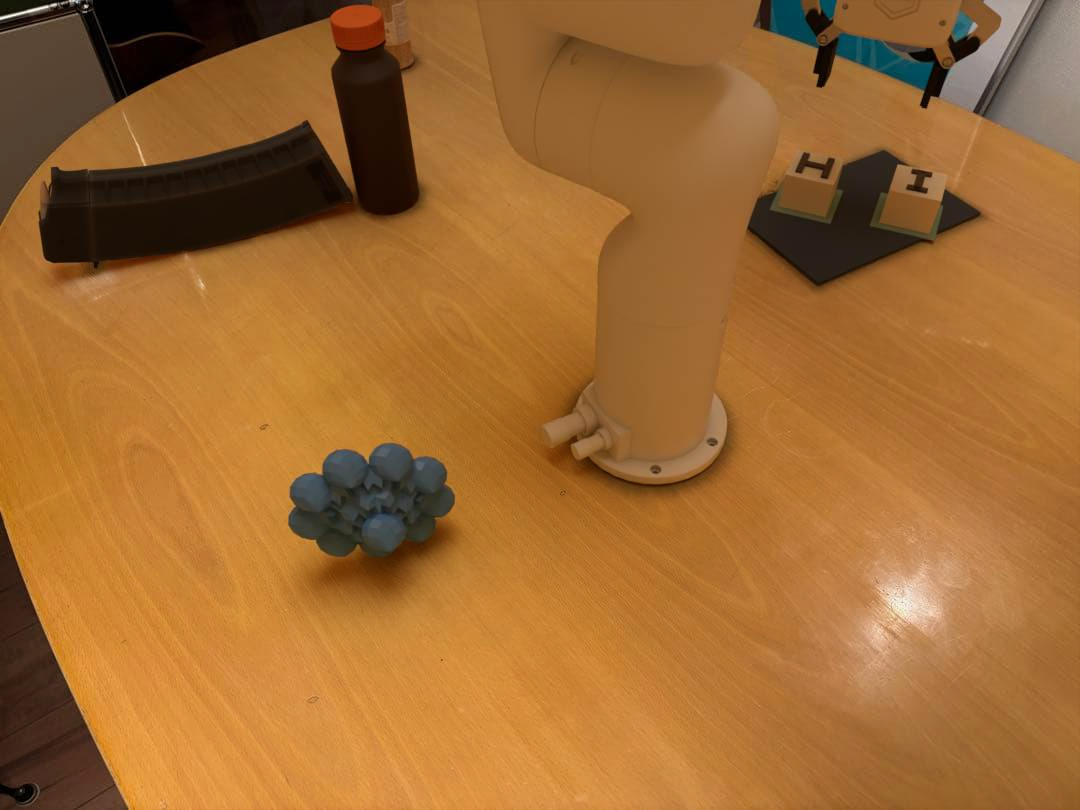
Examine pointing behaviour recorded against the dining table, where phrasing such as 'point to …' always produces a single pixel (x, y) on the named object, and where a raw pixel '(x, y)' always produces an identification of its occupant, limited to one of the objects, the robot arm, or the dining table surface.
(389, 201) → the vinegar
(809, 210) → the tile
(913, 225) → the tile
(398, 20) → the sprinkles bottle
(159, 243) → the magazine
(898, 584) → the dining table surface
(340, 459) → the grapes
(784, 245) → the mat
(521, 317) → the dining table surface
